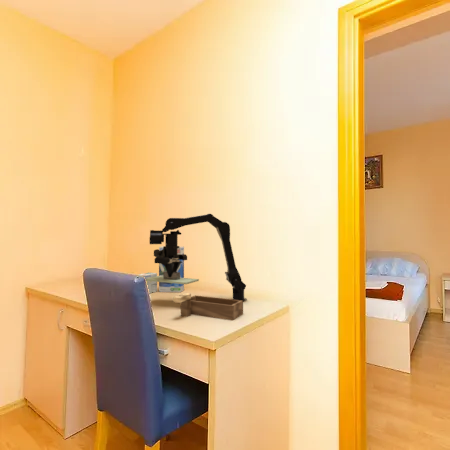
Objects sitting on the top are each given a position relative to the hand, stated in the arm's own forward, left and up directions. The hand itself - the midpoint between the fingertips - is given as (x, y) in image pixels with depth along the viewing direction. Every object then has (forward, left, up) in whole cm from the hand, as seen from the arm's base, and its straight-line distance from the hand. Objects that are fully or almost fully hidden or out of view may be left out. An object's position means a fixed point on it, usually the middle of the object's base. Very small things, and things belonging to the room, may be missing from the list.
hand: (171, 276), depth 151 cm
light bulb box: (-16, -29, -14) cm, 36 cm away
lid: (0, 0, -2) cm, 2 cm away
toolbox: (+7, +26, -13) cm, 30 cm away
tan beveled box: (+15, +17, -6) cm, 24 cm away
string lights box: (-26, -19, -13) cm, 35 cm away
